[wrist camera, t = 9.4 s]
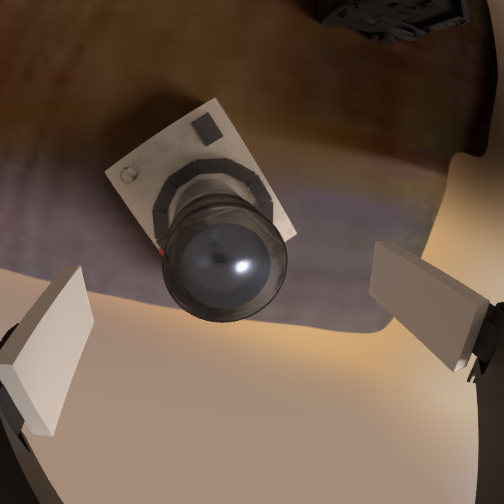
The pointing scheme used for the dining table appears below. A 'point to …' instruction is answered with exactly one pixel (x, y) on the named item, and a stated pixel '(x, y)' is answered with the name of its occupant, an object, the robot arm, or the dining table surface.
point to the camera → (394, 16)
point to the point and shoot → (191, 171)
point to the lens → (222, 255)
